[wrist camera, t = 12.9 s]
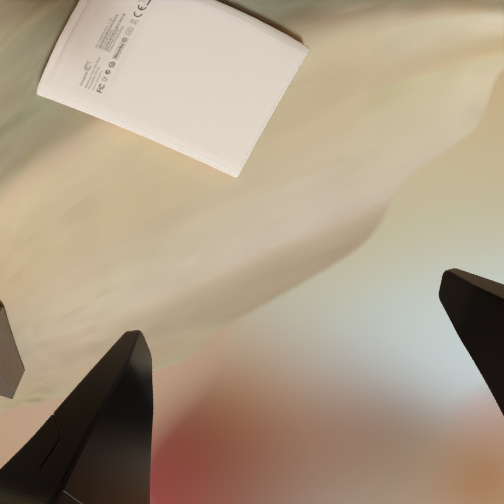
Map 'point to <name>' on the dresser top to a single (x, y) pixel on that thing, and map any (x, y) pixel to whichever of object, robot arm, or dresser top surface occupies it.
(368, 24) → the dresser top surface
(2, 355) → the dark gray rectangular block
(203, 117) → the external hard drive
